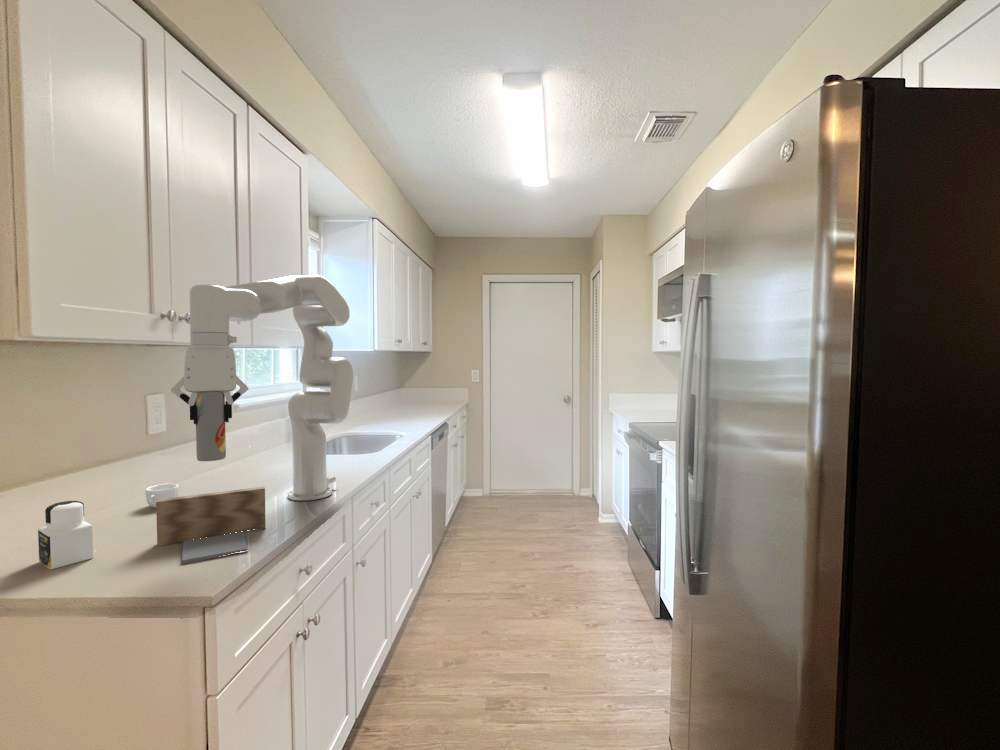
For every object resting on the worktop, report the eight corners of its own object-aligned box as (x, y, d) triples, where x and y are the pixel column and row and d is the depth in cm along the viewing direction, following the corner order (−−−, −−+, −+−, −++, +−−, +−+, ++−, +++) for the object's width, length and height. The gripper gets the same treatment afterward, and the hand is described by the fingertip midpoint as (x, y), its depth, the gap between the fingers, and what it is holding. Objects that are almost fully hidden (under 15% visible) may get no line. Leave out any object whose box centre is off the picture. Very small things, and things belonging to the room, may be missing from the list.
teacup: (155, 502, 144) (155, 483, 144) (184, 501, 145) (183, 483, 145) (135, 513, 134) (134, 493, 134) (166, 512, 135) (165, 492, 135)
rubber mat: (243, 534, 118) (243, 531, 118) (247, 552, 108) (247, 548, 108) (183, 544, 112) (183, 541, 112) (182, 564, 102) (182, 560, 102)
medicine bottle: (38, 562, 102) (36, 504, 102) (82, 550, 108) (80, 496, 108) (50, 570, 99) (47, 510, 98) (94, 558, 104) (92, 501, 104)
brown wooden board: (264, 526, 124) (263, 486, 124) (265, 528, 122) (264, 488, 122) (157, 543, 113) (156, 499, 112) (157, 546, 111) (156, 502, 111)
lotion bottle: (231, 456, 114) (229, 369, 114) (217, 461, 109) (215, 370, 108) (206, 456, 114) (203, 369, 114) (191, 461, 109) (188, 370, 108)
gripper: (251, 342, 118) (252, 418, 119) (165, 341, 110) (166, 423, 110) (254, 341, 112) (255, 422, 112) (162, 340, 103) (163, 427, 104)
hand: (211, 421), depth 111 cm, fingers closed on lotion bottle, 5 cm apart
